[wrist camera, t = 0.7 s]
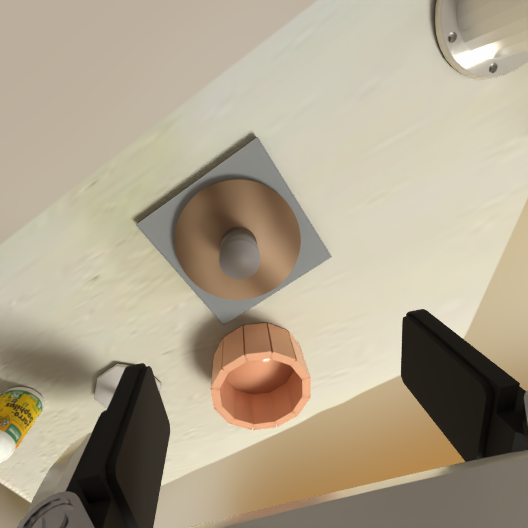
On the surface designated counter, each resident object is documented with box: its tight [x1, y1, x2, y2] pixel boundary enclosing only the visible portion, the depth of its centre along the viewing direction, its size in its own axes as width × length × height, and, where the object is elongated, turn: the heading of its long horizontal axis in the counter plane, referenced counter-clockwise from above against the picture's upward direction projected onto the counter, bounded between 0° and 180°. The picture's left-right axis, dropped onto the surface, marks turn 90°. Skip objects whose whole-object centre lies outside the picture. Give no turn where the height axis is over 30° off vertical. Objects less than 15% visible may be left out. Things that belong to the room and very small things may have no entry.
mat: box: [136, 137, 332, 325], centre depth 36 cm, size 16×16×1 cm
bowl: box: [211, 323, 310, 430], centre depth 40 cm, size 12×12×6 cm
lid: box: [175, 179, 301, 300], centre depth 33 cm, size 14×14×6 cm
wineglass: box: [28, 363, 161, 512], centre depth 33 cm, size 9×9×21 cm
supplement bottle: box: [0, 387, 44, 463], centre depth 38 cm, size 5×5×10 cm
